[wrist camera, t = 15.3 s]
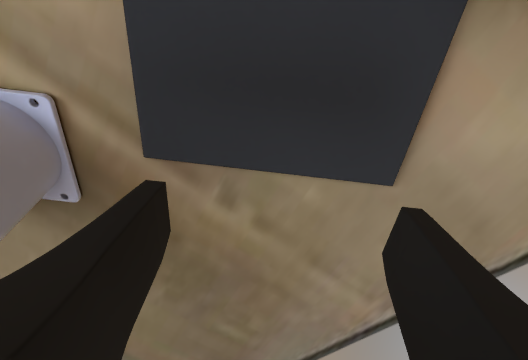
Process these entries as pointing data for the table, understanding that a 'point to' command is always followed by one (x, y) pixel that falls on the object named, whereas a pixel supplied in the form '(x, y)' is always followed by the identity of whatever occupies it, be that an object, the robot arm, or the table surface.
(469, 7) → the table surface
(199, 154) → the desk mat
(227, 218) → the table surface
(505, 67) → the table surface
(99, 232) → the robot arm
